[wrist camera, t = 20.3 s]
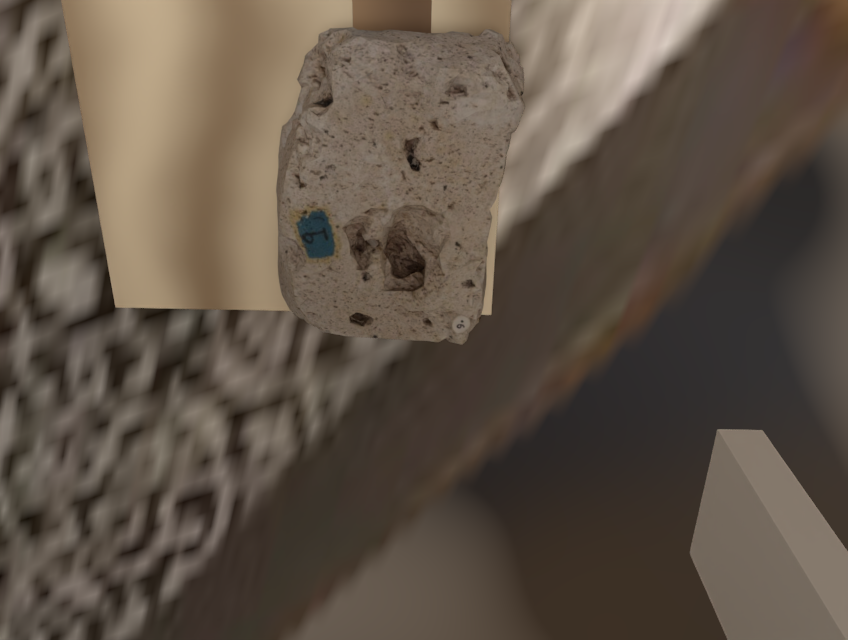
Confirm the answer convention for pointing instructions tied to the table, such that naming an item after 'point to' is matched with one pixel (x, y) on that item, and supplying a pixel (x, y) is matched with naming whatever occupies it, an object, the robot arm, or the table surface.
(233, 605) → the table surface
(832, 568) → the robot arm
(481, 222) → the stone
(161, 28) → the subfloor panel
